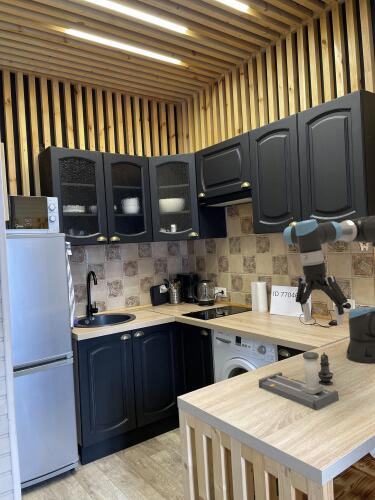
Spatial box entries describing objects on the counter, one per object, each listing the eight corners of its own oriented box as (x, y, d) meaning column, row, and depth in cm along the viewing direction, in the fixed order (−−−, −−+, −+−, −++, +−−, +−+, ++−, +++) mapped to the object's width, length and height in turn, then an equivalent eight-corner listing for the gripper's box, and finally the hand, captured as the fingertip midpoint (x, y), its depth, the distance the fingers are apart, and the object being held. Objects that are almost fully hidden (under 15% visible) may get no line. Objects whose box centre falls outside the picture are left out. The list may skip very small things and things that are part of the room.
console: (280, 379, 146) (279, 372, 146) (338, 399, 124) (338, 391, 124) (258, 387, 139) (258, 379, 139) (316, 410, 118) (316, 401, 118)
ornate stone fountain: (329, 379, 143) (328, 349, 143) (336, 385, 137) (335, 353, 137) (315, 380, 143) (313, 350, 143) (321, 386, 137) (319, 354, 137)
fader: (311, 385, 130) (309, 350, 130) (324, 390, 125) (322, 353, 125) (300, 390, 126) (298, 354, 126) (313, 394, 122) (311, 357, 122)
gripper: (279, 267, 136) (289, 322, 136) (337, 263, 115) (349, 328, 115) (293, 263, 140) (303, 317, 140) (351, 259, 119) (362, 322, 119)
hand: (324, 322), depth 128 cm, fingers open, 13 cm apart
